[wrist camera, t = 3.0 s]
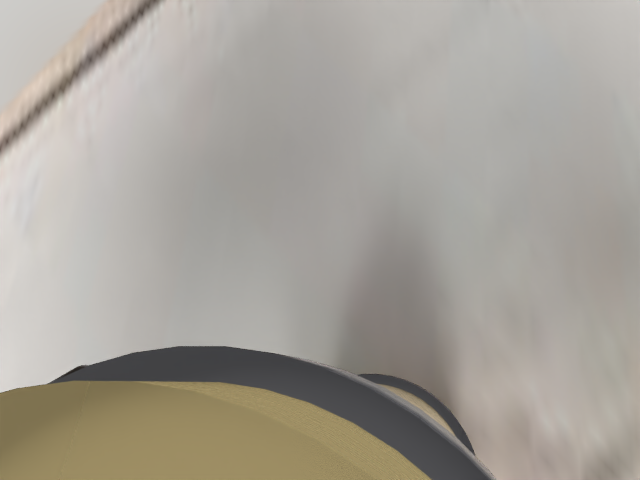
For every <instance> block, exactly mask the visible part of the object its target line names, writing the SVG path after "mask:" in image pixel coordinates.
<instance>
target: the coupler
mask: <svg viewBox="0 0 640 480" xmlns="http://www.w3.org/2000/svg"><path fill="white" fill-rule="evenodd" d="M0 480H496V478H495V477H494V476H493V475H492V473H491V472H490V471H489V470H488V469H487V468H486V467H485V466H484V465H483V464H482V463H481V462H480V461H479V460H478V459H477V458H476V457H475V453H474V450H473V448H472V446H471V443H470V441H469V439H468V437H467V435H466V433H465V432H464V430H463V428H462V427H461V425H460V423H459V422H458V420H457V419H456V418H455V417H454V415H453V414H452V413H451V411H450V410H449V409H448V408H447V407H446V406H445V405H444V404H443V403H442V402H441V401H440V400H439V399H438V398H436V397H435V396H434V395H432V394H431V393H430V392H428V391H427V390H425V389H423V388H422V387H420V386H418V385H416V384H414V383H411V382H409V381H407V380H404V379H400V378H397V377H393V376H387V375H380V374H360V375H355V374H353V373H351V372H348V371H345V370H342V369H338V368H335V367H331V366H328V365H324V364H321V363H317V362H314V361H310V360H305V359H300V358H295V357H290V356H285V355H280V354H275V353H268V352H261V351H254V350H247V349H240V348H233V347H226V346H178V347H171V348H164V349H157V350H150V351H143V352H136V353H131V354H128V355H124V356H121V357H117V358H114V359H110V360H107V361H103V362H100V363H96V364H93V365H89V366H87V367H85V368H82V369H80V370H78V371H75V372H73V373H71V374H69V375H66V376H64V377H62V378H59V379H57V380H55V381H53V382H50V383H48V384H46V385H38V386H31V387H24V388H16V389H13V390H9V391H6V392H2V393H0Z"/></svg>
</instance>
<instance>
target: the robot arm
mask: <svg viewBox="0 0 640 480" xmlns="http://www.w3.org/2000/svg"><path fill="white" fill-rule="evenodd" d="M87 366H89V365H81V366H78V367H76V368H74V369H73V370H71V371H69V372H67V373H66V374H64V375H62V376H61V377H59V378H62V377H64V376H66V375H69V374H71V373H73V372H75V371H78V370H80V369H82V368H85V367H87ZM59 378H57V379H59ZM57 379H55V380H57ZM55 380H54V381H55ZM52 382H53V381H52Z"/></svg>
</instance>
